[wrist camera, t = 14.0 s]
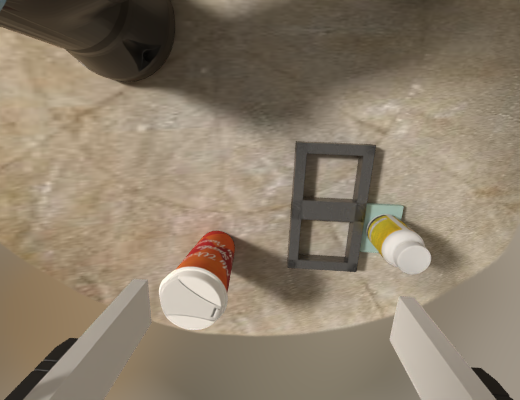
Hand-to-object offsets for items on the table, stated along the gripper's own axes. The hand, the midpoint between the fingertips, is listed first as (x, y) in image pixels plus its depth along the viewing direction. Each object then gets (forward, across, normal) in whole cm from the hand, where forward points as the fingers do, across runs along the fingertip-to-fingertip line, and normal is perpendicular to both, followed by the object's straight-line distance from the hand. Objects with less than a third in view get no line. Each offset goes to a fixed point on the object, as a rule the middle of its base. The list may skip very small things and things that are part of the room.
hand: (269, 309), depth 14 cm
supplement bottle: (+28, +18, -6) cm, 34 cm away
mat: (+29, +17, -6) cm, 34 cm away
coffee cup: (+29, -9, -11) cm, 32 cm away
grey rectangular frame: (+29, +8, -3) cm, 30 cm away
